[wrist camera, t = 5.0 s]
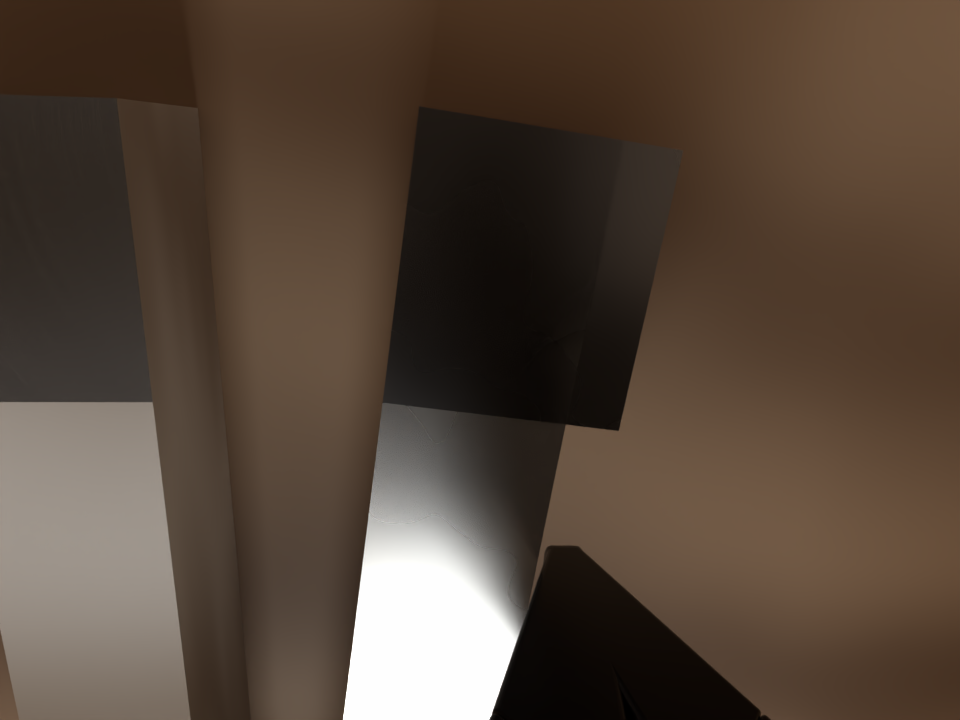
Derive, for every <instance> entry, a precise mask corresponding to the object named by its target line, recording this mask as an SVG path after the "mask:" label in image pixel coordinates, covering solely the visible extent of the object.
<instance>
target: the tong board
mask: <svg viewBox="0 0 960 720" xmlns="http://www.w3.org/2000/svg"><path fill="white" fill-rule="evenodd" d="M419 106H422V107H428V108H434V109H440V110H446V111H452V112H457V113H463V114H469V115H475V116H481V117H487V118H493V119H499V120H505V121H511V122H517V123H523V124H529V125H535V126H541V127H547V128H553V129H559V130H565V131H571V132H577V133H583V134H588V135H594V136H600V137H606V138H612V139H618V140H624V141H630V142H636V143H642V144H648V145H654V146H660V147H666V148H672V149H678V150H683V154H682V159H681V163H680V167H679V172H678V176H677V180H676V185H675V189H674V193H673V198H672V202H671V206H670V211H669V215H668V219H667V224H666V228H665V232H664V237H663V241H662V245H661V250H660V254H659V258H658V263H657V267H656V271H655V276H654V280H653V284H652V289H651V293H650V297H649V302H648V306H647V310H646V315H645V319H644V323H643V328H642V332H641V336H640V341H639V345H638V350H637V354H636V358H635V363H634V367H633V371H632V376H631V380H630V384H629V389H628V393H627V397H626V402H625V406H624V410H623V415H622V419H621V423H620V428H619V431H614V430H606V429H598V428H589V427H581V426H573V425H566V426H565V431H564V436H563V441H562V445H561V450H560V455H559V460H558V465H557V470H556V475H555V479H554V484H553V489H552V494H551V499H550V504H549V509H548V513H547V518H546V523H545V528H544V533H543V538H542V542H541V547H540V552H539V557H538V562H537V567H536V572H535V576H534V581H533V586H532V591H531V596H530V601H531V598H532V595H533V592H534V589H535V586H536V583H537V580H538V578H539V575H540V572H541V569H542V566H543V561H544V553H545V550H546V548H547V547H548V546H550V545H574V546H579V547H581V549H582V550H583V551H584V552H585V553H586V554H587V555H588V556H590V557H591V558H592V559H593V560H594V561H595V562H596V563H597V564H598V565H600V566H601V567H602V568H603V569H604V570H605V571H606V572H607V573H608V574H610V575H611V576H612V577H613V578H614V579H615V580H616V581H617V582H618V583H620V584H621V585H622V586H623V587H624V588H625V589H626V590H627V591H629V592H630V593H631V594H632V595H633V596H634V597H635V598H636V599H637V600H639V601H640V602H641V603H642V604H643V605H644V606H645V607H646V608H647V609H649V610H650V611H651V612H652V613H653V614H654V615H655V616H656V617H657V618H659V619H660V620H661V621H662V622H663V623H664V624H665V625H666V626H667V627H669V628H670V629H671V630H672V631H673V632H674V633H675V634H676V635H677V636H679V637H680V638H681V639H682V640H683V641H684V642H685V643H686V644H687V645H689V646H690V647H691V648H692V649H693V650H694V651H695V652H696V653H697V654H699V655H700V656H701V657H702V658H703V659H704V660H705V661H706V662H707V663H709V664H710V665H711V666H712V667H713V668H714V669H715V670H716V671H717V672H719V673H720V674H721V675H722V676H723V677H724V678H725V679H726V680H727V681H729V682H730V683H731V684H732V685H733V686H734V687H735V688H736V689H738V690H739V691H740V692H741V693H742V694H743V695H744V696H745V697H746V698H748V699H749V700H750V701H751V702H752V703H753V704H754V705H755V706H756V707H758V708H759V709H760V711H761V716H762V715H766V716H768V717H769V718H770V719H771V720H960V0H0V720H343V719H344V711H345V703H346V695H347V687H348V679H349V671H350V662H351V654H352V646H353V638H354V630H355V622H356V614H357V606H358V598H359V590H360V581H361V573H362V565H363V557H364V549H365V541H366V533H367V525H368V517H369V508H370V500H371V492H372V484H373V476H374V468H375V460H376V452H377V444H378V435H379V427H380V419H381V411H382V403H383V395H384V387H385V379H386V371H387V363H388V354H389V346H390V338H391V330H392V322H393V314H394V306H395V298H396V290H397V281H398V273H399V265H400V257H401V249H402V241H403V233H404V225H405V217H406V208H407V200H408V192H409V184H410V176H411V168H412V160H413V152H414V144H415V136H416V127H417V119H418V111H419ZM530 601H529V604H530ZM528 606H529V605H528Z"/></svg>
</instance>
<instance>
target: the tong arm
mask: <svg viewBox="0 0 960 720" xmlns="http://www.w3.org/2000/svg"><path fill="white" fill-rule="evenodd" d="M682 154H683V150H678V149H672V148H666V147H660V146H654V145H648V144H642V143H636V142H630V141H624V140H618V139H612V138H606V137H600V136H594V135H588V134H583V133H577V132H571V131H565V130H559V129H553V128H547V127H541V126H535V125H529V124H523V123H517V122H511V121H505V120H499V119H493V118H487V117H481V116H475V115H469V114H463V113H457V112H452V111H446V110H440V109H434V108H428V107H422V106H419V111H418V119H417V127H416V136H415V144H414V152H413V160H412V168H411V176H410V184H409V192H408V200H407V208H406V217H405V225H404V233H403V241H402V249H401V257H400V265H399V273H398V281H397V290H396V298H395V306H394V314H393V322H392V330H391V338H390V346H389V354H388V363H387V371H386V379H385V387H384V395H383V403H382V411H381V419H380V427H379V435H378V444H377V452H376V460H375V468H374V476H373V484H372V492H371V500H370V508H369V517H368V525H367V533H366V541H365V549H364V557H363V565H362V573H361V581H360V590H359V598H358V606H357V614H356V622H355V630H354V638H353V646H352V654H351V662H350V671H349V679H348V687H347V695H346V703H345V711H344V719H343V720H489V718H490V716H491V715H492V711H493V708H494V705H495V702H496V699H497V696H498V693H499V690H500V687H501V685H502V682H503V679H504V676H505V673H506V670H507V667H508V664H509V661H510V659H511V656H512V653H513V650H514V647H515V644H516V641H517V638H518V635H519V632H520V630H521V627H522V624H523V621H524V618H525V615H526V612H527V609H528V605H529V601H530V596H531V591H532V586H533V581H534V576H535V572H536V567H537V562H538V557H539V552H540V547H541V542H542V538H543V533H544V528H545V523H546V518H547V513H548V509H549V504H550V499H551V494H552V489H553V484H554V479H555V475H556V470H557V465H558V460H559V455H560V450H561V445H562V441H563V436H564V431H565V426H566V425H573V426H581V427H589V428H598V429H606V430H614V431H619V428H620V423H621V419H622V415H623V410H624V406H625V402H626V397H627V393H628V389H629V384H630V380H631V376H632V371H633V367H634V363H635V358H636V354H637V350H638V345H639V341H640V336H641V332H642V328H643V323H644V319H645V315H646V310H647V306H648V302H649V297H650V293H651V289H652V284H653V280H654V276H655V271H656V267H657V263H658V258H659V254H660V250H661V245H662V241H663V237H664V232H665V228H666V224H667V219H668V215H669V211H670V206H671V202H672V198H673V193H674V189H675V185H676V180H677V176H678V172H679V167H680V163H681V159H682Z"/></svg>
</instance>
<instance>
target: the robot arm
mask: <svg viewBox="0 0 960 720" xmlns="http://www.w3.org/2000/svg"><path fill="white" fill-rule="evenodd" d="M489 720H771V719H770V718H769V717H768V716H766V715H762V716H761V711H760V709H759V708H758V707H756V706H755V705H754V704H753V703H752V702H751V701H750V700H749V699H748V698H746V697H745V696H744V695H743V694H742V693H741V692H740V691H739V690H738V689H736V688H735V687H734V686H733V685H732V684H731V683H730V682H729V681H727V680H726V679H725V678H724V677H723V676H722V675H721V674H720V673H719V672H717V671H716V670H715V669H714V668H713V667H712V666H711V665H710V664H709V663H707V662H706V661H705V660H704V659H703V658H702V657H701V656H700V655H699V654H697V653H696V652H695V651H694V650H693V649H692V648H691V647H690V646H689V645H687V644H686V643H685V642H684V641H683V640H682V639H681V638H680V637H679V636H677V635H676V634H675V633H674V632H673V631H672V630H671V629H670V628H669V627H667V626H666V625H665V624H664V623H663V622H662V621H661V620H660V619H659V618H657V617H656V616H655V615H654V614H653V613H652V612H651V611H650V610H649V609H647V608H646V607H645V606H644V605H643V604H642V603H641V602H640V601H639V600H637V599H636V598H635V597H634V596H633V595H632V594H631V593H630V592H629V591H627V590H626V589H625V588H624V587H623V586H622V585H621V584H620V583H618V582H617V581H616V580H615V579H614V578H613V577H612V576H611V575H610V574H608V573H607V572H606V571H605V570H604V569H603V568H602V567H601V566H600V565H598V564H597V563H596V562H595V561H594V560H593V559H592V558H591V557H590V556H588V555H587V554H586V553H585V552H584V551H583V550H582V549H581V547H579V546H574V545H550V546H548V547H547V548H546V550H545V553H544V561H543V566H542V569H541V572H540V575H539V578H538V580H537V583H536V586H535V589H534V592H533V595H532V598H531V601H530V604H529V606H528V609H527V612H526V615H525V618H524V621H523V624H522V627H521V630H520V632H519V635H518V638H517V641H516V644H515V647H514V650H513V653H512V656H511V659H510V661H509V664H508V667H507V670H506V673H505V676H504V679H503V682H502V685H501V687H500V690H499V693H498V696H497V699H496V702H495V705H494V708H493V711H492V715H491V716H490V718H489Z"/></svg>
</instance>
